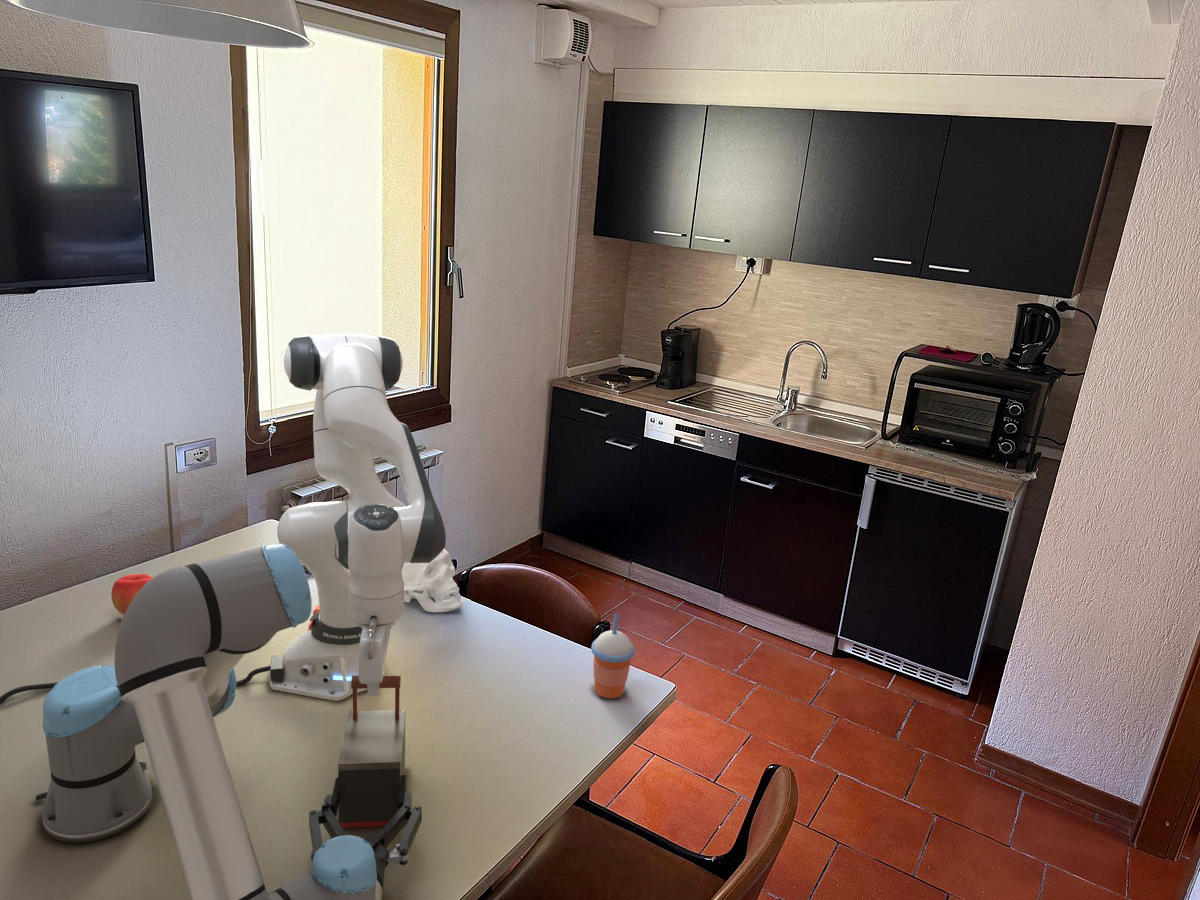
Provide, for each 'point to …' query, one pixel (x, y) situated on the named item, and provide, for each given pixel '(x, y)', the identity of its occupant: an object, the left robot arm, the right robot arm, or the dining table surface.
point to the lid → (373, 732)
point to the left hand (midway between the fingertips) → (371, 783)
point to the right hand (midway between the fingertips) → (376, 677)
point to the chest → (369, 795)
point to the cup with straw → (611, 661)
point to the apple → (127, 590)
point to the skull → (432, 584)
